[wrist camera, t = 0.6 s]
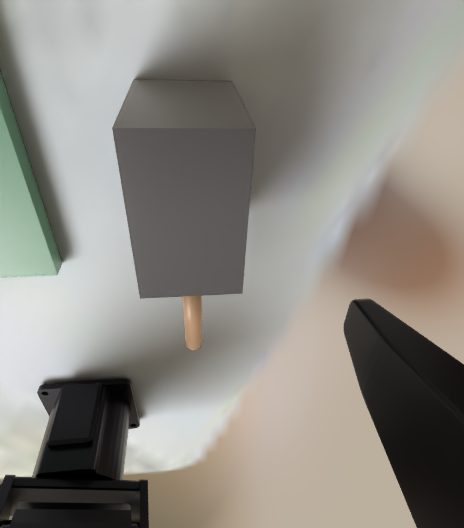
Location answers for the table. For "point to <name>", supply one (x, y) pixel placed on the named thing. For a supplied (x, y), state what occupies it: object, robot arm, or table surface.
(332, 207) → the table surface
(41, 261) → the pcb board
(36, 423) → the table surface
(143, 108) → the grey ice pop
